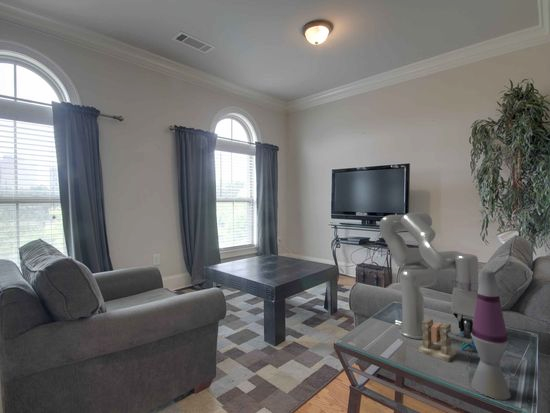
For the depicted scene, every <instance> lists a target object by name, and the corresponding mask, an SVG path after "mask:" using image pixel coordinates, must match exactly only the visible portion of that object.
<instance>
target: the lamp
mask: <svg viewBox="0 0 550 413" xmlns="http://www.w3.org/2000/svg"><path fill="white" fill-rule="evenodd" d="M478 282H479V287H478V296H477V302H476V308H475V315H474V321H473V327H472V332H471V336H472V340H473V341H474V344H475V347H476V349H477V351H476V352H477V354H478V356H479V359H480V360H479V362H478V365H477V367H476V370H475V372H474V375H473V377H472V379H471V383H470V384H471V385H470V386H471V387H472V389H473V388H474V389H475V390H474V389H473V390H474V391H475V392H477V391H478V392H479V393H478V392H477V393H478V394H480V393H481V394H480V395H482V394H484V395H486V396H489V397H491V398H490V399H492V398H494V400H497V399H498V401H499V400H500V401H506V400H509V399H510V398H511V396H512V395H511V391H510V389H509V386H508V384H507V381H506V379H505V376H504V373H503V371H502V367H501V364H500V363H501V361H502V358H503V356H504V354H505V351H506V349H507V347H508V345H509V342H510V341H509V339H508V335H507V330H506V329H507V328H506V324H505V320H504V313H503V309H502V305H501V304H502V303H501V299H500V293H499V289H498V283H497V278H496V275H495V272H494V271H493V270H489V269H483V270H481V271H480V277H479V281H478ZM484 395H483V396H484ZM486 396H485V397H486ZM489 397H488V398H489Z"/></svg>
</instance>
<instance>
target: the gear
mask: <svg viewBox="0 0 550 413" xmlns="http://www.w3.org/2000/svg"><path fill="white" fill-rule="evenodd" d="M459 332H460V331H459ZM460 335H463V332H460ZM468 347H471V348H474V350H475V351H476V352H477V349H476V347H475V344H474V341H473V339H472V343H471V344H469V343H466V342H462V343H461V347H460V349H461V350H462V351H464V350H465V349H466V348H468Z"/></svg>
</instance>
